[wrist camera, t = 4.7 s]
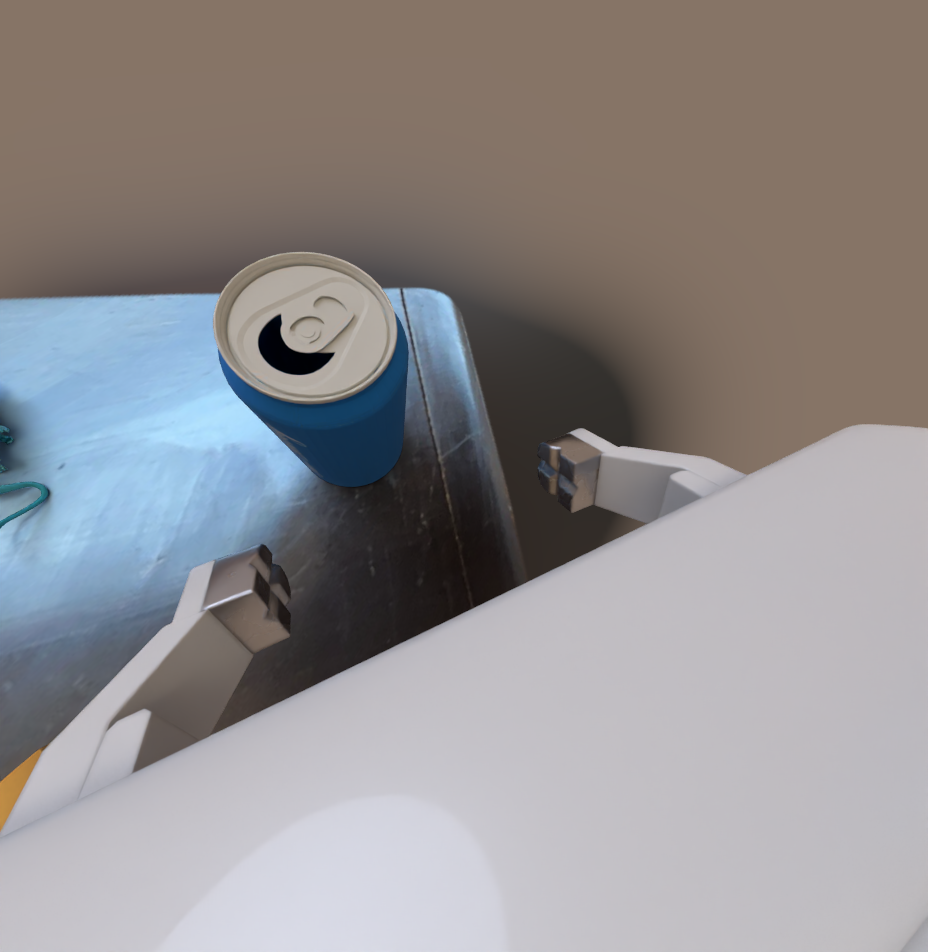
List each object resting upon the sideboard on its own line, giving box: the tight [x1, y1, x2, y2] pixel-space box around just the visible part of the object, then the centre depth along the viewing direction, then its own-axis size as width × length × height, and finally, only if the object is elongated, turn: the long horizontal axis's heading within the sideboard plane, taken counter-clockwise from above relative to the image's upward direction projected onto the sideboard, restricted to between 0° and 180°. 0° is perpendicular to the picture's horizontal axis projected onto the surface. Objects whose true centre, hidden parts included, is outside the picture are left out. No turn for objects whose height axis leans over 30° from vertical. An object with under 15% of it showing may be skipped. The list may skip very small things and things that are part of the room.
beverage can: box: [213, 252, 409, 487], centre depth 17 cm, size 6×6×12 cm
